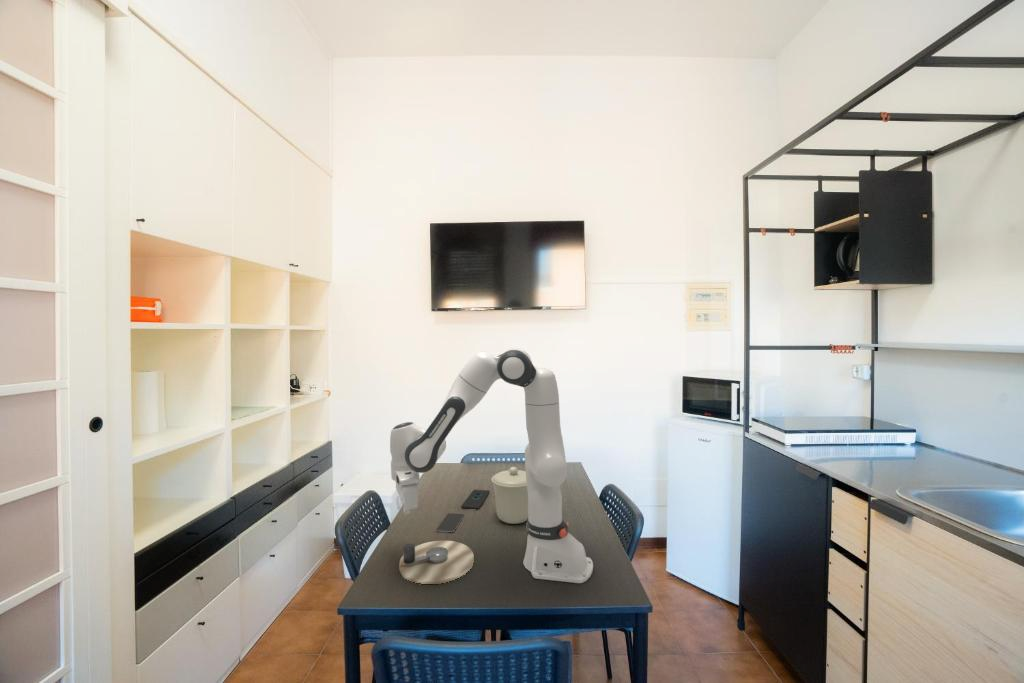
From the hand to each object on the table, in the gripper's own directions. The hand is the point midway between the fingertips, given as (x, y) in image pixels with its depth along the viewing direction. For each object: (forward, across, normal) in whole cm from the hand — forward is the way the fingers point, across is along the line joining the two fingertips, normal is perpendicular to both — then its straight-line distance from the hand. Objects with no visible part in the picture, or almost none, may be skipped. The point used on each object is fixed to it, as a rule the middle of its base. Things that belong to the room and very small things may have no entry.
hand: (406, 512), depth 139 cm
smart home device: (+17, -37, +37) cm, 55 cm away
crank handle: (+14, +7, +4) cm, 16 cm away
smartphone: (+17, -20, +20) cm, 33 cm away
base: (+16, +7, +8) cm, 19 cm away
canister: (+17, -13, +44) cm, 49 cm away
